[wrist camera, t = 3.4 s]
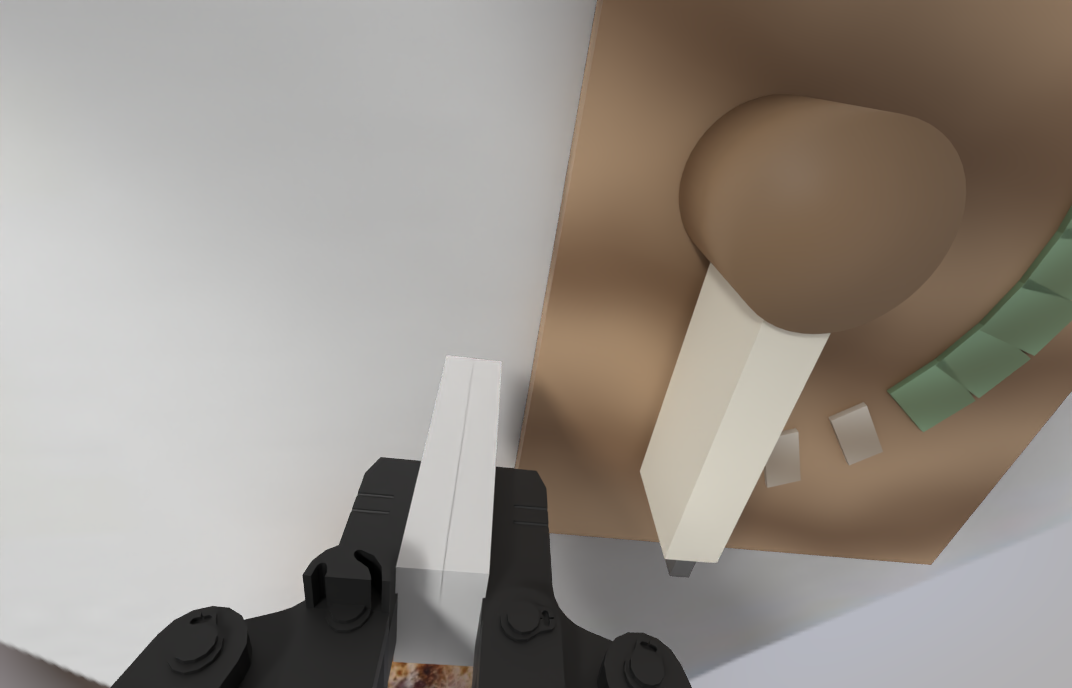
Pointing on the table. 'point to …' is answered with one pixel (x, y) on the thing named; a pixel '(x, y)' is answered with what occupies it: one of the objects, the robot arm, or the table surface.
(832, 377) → the dial board
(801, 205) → the lever
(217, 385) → the table surface
